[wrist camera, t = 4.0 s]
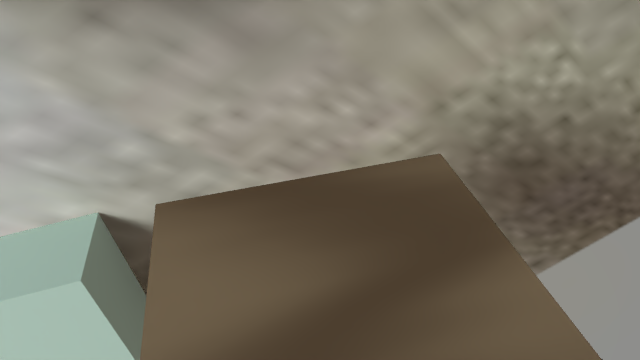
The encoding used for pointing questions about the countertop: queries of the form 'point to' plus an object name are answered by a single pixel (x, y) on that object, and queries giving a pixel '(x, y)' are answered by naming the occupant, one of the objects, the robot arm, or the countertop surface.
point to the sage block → (68, 295)
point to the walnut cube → (347, 274)
